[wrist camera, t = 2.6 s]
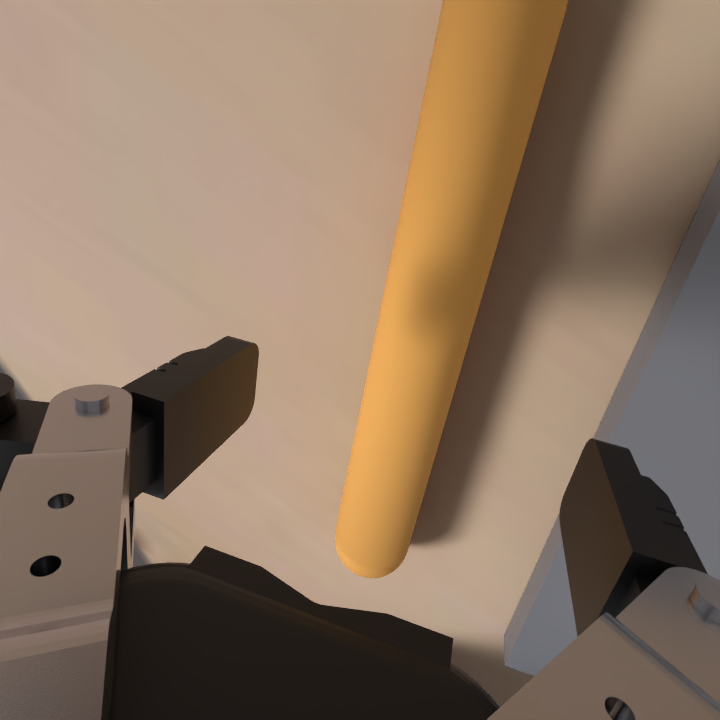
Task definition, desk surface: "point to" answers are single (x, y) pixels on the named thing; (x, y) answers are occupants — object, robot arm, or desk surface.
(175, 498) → the desk surface
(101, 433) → the robot arm
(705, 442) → the board
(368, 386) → the orange rod
